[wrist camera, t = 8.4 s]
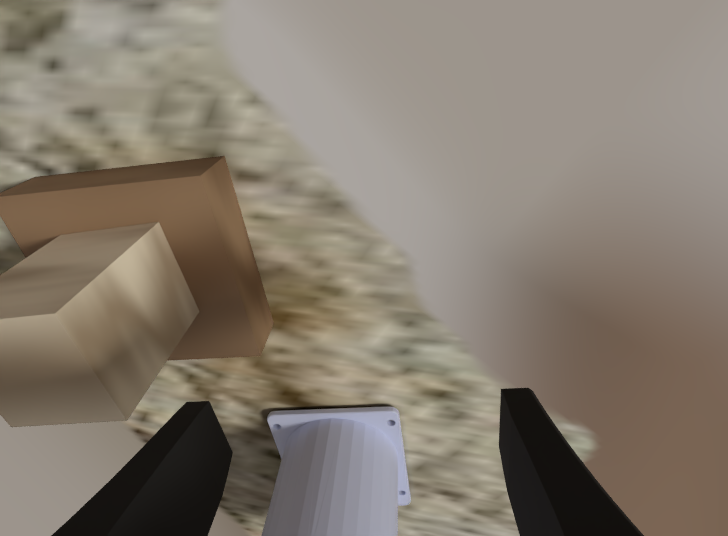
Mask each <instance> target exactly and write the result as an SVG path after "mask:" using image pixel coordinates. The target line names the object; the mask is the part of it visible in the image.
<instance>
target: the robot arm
mask: <svg viewBox="0 0 728 536" xmlns="http://www.w3.org/2000/svg"><path fill="white" fill-rule="evenodd" d="M267 422H268V424H269V427H270V430H271V432H272V435H273V438H274V440H275V443H276V446H277V449H278V451H279V454H280V457H281V459H282V460H281V464H280V468H279V471H278V475H277V479H276V483H275V487H274V490H273V494H272V498H271V502H270V506H269V509H268V513H267V517H266V521H265V525H264V528H263V532H262V536H398V505H408V504H409V503H410V502H411V496H410V489H409V481H408V474H407V467H406V460H405V453H404V445H403V438H402V431H401V424H400V416H399V411H398V410H397V409H396V408H394V407H363V408H337V409H311V410H284V411H272V412H270V413H269V414H268V417H267ZM499 449H500V454H501V460H502V465H503V471H504V476H505V482H506V487H507V492H508V495H509V499H510V502H511V506H512V509H513V513H514V516H515V520H516V523H517V527H518V530H519V534H520V536H644V535H643V534H642V533H641V532H640V531H639V530H638V528H637V527H636V526H635V525H634V524H633V523H632V522H631V521H630V519H629V518H628V517H627V516H626V515H625V514H624V512H623V511H622V510H621V509H620V508H619V507H618V505H617V504H616V503H615V502H614V501H613V500H612V498H611V497H610V496H609V495H608V494H607V492H606V491H605V490H604V489H603V487H601V485H600V484H599V483H598V481H597V480H596V479H595V478H594V476H593V475H592V474H591V472H590V471H589V470H588V469H587V467H586V466H585V465H584V463H583V462H582V461H581V460H580V458H579V457H578V456H577V455H576V453H575V452H574V451H573V449H572V448H571V447H570V445H569V444H568V442H567V441H566V440H565V438H564V437H563V436H562V434H561V433H560V431H559V430H558V429H557V427H556V426H555V424H554V423H553V421H552V420H551V419H550V417H549V416H548V414H547V413H546V411H545V410H544V408H543V406H542V405H541V403H540V402H539V400H538V399H537V397H536V395H535V394H534V392H533V391H532V390H531V389H529V388H513V389H501V406H500V433H499ZM232 453H233V452H232V450H231V448H230V446H229V443H228V441H227V439H226V437H225V435H224V433H223V430H222V428H221V426H220V424H219V422H218V419H217V417H216V415H215V413H214V411H213V409H212V406H211V404H210V402H209V401H201V402H186V403H185V404H184V405H183V406H182V407H181V408H180V409H179V410H178V411H177V412H176V413H175V414H174V415H173V416H172V417H171V418H170V419H169V421H168V422H167V423H166V424H165V425H164V426H163V427H162V428H161V429H160V430H159V431H158V432H157V433H156V434H155V435H154V436H153V437H152V438H151V439H150V440H149V441H148V442H147V443H146V444H145V445H144V447H143V448H142V449H141V450H140V451H139V452H138V453H137V454H136V455H135V456H134V457H133V458H132V459H131V460H130V461H129V462H128V463H127V464H126V465H125V466H124V467H123V468H122V469H121V470H120V471H119V472H118V473H117V474H116V475H115V476H114V477H113V478H112V479H111V480H110V481H109V482H108V483H107V484H106V485H105V486H104V487H103V488H102V489H101V490H100V491H99V492H98V493H96V495H94V496H93V497H92V498H91V499H90V500H89V501H88V502H87V503H86V504H85V505H84V506H83V507H82V508H81V509H80V510H79V511H78V512H77V513H76V514H75V515H74V516H72V517H71V518H70V519H69V520H68V521H67V522H66V523H65V524H64V525H63V526H62V527H60V528H59V529H58V530H57V531H56V532H55V533H54V534H53V535H52V536H208V533H209V530H210V528H211V525H212V522H213V520H214V517H215V514H216V511H217V509H218V506H219V503H220V500H221V497H222V495H223V491H224V487H225V483H226V479H227V475H228V471H229V467H230V462H231V458H232Z"/></svg>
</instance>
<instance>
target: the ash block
mask: <svg viewBox="0 0 728 536" xmlns="http://www.w3.org/2000/svg"><path fill="white" fill-rule="evenodd" d="M198 313H199V309H198V307H197V305H196V303H195V300H194V298H193V296H192V294H191V292H190V289H189V287H188V285H187V283H186V281H185V278H184V276H183V274H182V272H181V270H180V267H179V265H178V263H177V261H176V259H175V256H174V254H173V252H172V250H171V248H170V245H169V243H168V241H167V239H166V237H165V234H164V232H163V230H162V228H161V226H160V223H159V222H155V223H147V224H140V225H132V226H125V227H117V228H110V229H102V230H95V231H87V232H80V233H72V234H65V235H60V236H58V237H57V238H55V239H54V240H52V241H51V242H49V243H48V244H46V245H45V246H43V247H42V248H40V249H39V250H37V251H36V252H34V253H33V254H31V255H30V256H28V257H27V258H25V259H24V260H22V261H21V262H19V263H18V264H16V265H15V266H13V267H12V268H10V269H9V270H7V271H6V272H4V273H3V274H1V275H0V415H1V416H2V417H3V418H4V419H5V421H6V422H7V423H8V424H9V425H10V426H11V427H22V426H40V425H57V424H75V423H91V422H108V421H127V420H128V418H129V417H130V415H131V414H132V412H133V411H134V409H135V408H136V406H137V405H138V403H139V402H140V400H141V399H142V397H143V396H144V394H145V393H146V391H147V390H148V388H149V387H150V385H151V384H152V382H153V381H154V379H155V378H156V376H157V375H158V373H159V372H160V370H161V369H162V367H163V366H164V364H165V363H166V361H167V360H168V358H169V357H170V355H171V354H172V352H173V351H174V349H175V348H176V346H177V345H178V343H179V342H180V340H181V339H182V337H183V336H184V334H185V333H186V331H187V329H188V328H189V326H190V325H191V323H192V322H193V320H194V319H195V317H196V316H197V314H198Z"/></svg>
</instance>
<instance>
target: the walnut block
mask: <svg viewBox="0 0 728 536" xmlns="http://www.w3.org/2000/svg"><path fill="white" fill-rule="evenodd" d="M0 216H1V217H2V219H3V221H4V222H5V224H6V226H7V227H8V229H9V231H10V232H11V234H12V236H13V237H14V239H15V240H16V242H17V244H18V245H19V247H20V249H21V250H22V252H23V254H24V255H25V257H26V258H27V257H28V256H30V255H31V254H33V253H34V252H36V251H37V250H39V249H40V248H42V247H43V246H45V245H46V244H48V243H49V242H51V241H52V240H54V239H55V238H57V237H58V236H60V235H65V234H72V233H80V232H87V231H95V230H102V229H110V228H117V227H125V226H132V225H140V224H147V223H155V222H159V223H160V226H161V228H162V230H163V232H164V234H165V237H166V239H167V241H168V243H169V245H170V248H171V250H172V252H173V254H174V256H175V259H176V261H177V263H178V265H179V267H180V270H181V272H182V274H183V276H184V278H185V281H186V283H187V285H188V287H189V289H190V292H191V294H192V296H193V298H194V300H195V303H196V305H197V307H198V309H199V313H198V314H197V316H196V317H195V319H194V320H193V322H192V323H191V325H190V326H189V328H188V329H187V331H186V333H185V334H184V336H183V337H182V339H181V340H180V342H179V343H178V345H177V346H176V348H175V349H174V351H173V352H172V354H171V355H170V357H169V358H168V360H186V359H207V358H228V357H249V356H261V353H262V351H263V349H264V346H265V344H266V341H267V339H268V336H269V334H270V331H271V329H272V326H273V324H274V322H273V319H272V315H271V312H270V309H269V305H268V302H267V298H266V295H265V292H264V288H263V285H262V282H261V278H260V275H259V271H258V268H257V265H256V261H255V258H254V254H253V251H252V248H251V244H250V241H249V238H248V234H247V231H246V227H245V224H244V221H243V217H242V214H241V210H240V207H239V204H238V200H237V197H236V193H235V190H234V187H233V183H232V180H231V177H230V173H229V170H228V166H227V163H226V160H225V156H220V157H211V158H202V159H193V160H184V161H175V162H166V163H157V164H148V165H139V166H130V167H121V168H112V169H103V170H94V171H85V172H76V173H67V174H58V175H49V176H40V177H34V178H32V179H30V180H28V181H26V182H23V183H21V184H19V185H17V186H15V187H12V188H10V189H8V190H6V191H4V192H1V193H0Z"/></svg>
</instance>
